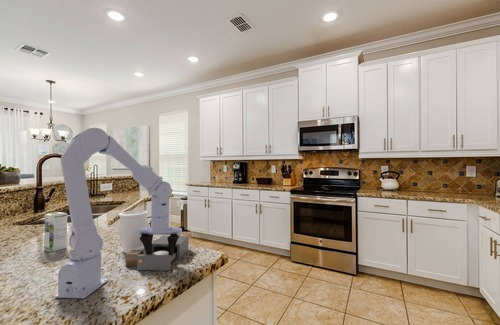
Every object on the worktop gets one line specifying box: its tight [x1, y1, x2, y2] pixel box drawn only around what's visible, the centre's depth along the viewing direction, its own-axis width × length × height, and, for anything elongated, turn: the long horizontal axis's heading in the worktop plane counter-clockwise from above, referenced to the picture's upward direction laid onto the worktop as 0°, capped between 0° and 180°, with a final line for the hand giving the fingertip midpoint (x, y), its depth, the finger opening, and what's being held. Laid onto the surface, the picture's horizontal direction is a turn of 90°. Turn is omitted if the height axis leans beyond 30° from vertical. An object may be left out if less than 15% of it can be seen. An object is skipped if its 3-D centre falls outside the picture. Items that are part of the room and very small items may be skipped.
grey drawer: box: [136, 253, 177, 272], centre depth 80 cm, size 11×11×5 cm
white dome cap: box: [152, 251, 169, 255], centre depth 80 cm, size 6×6×2 cm
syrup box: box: [43, 211, 68, 253], centre depth 95 cm, size 6×6×14 cm
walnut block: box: [125, 249, 144, 267], centre depth 80 cm, size 4×4×4 cm
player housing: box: [152, 235, 190, 261], centre depth 89 cm, size 10×11×6 cm
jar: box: [118, 209, 149, 254], centre depth 94 cm, size 11×10×15 cm
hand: (160, 255), depth 80 cm, fingers open, 7 cm apart
